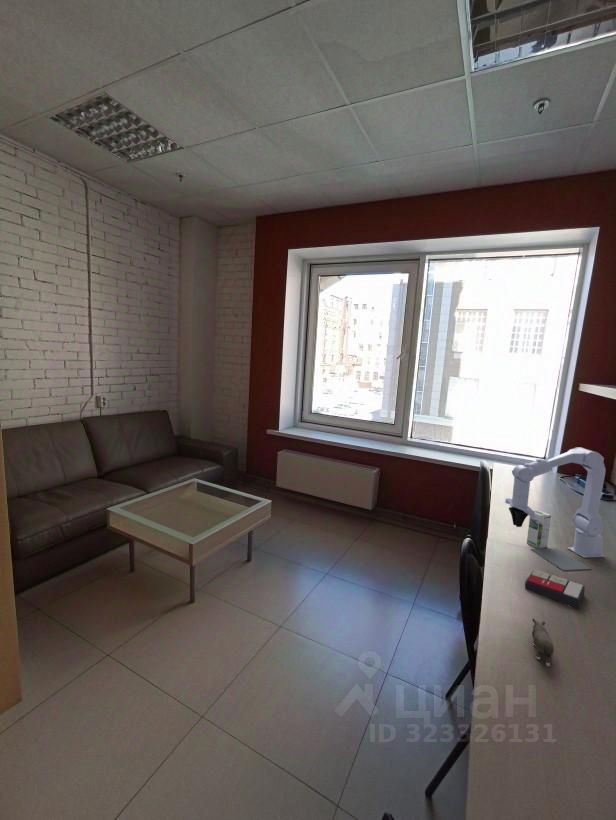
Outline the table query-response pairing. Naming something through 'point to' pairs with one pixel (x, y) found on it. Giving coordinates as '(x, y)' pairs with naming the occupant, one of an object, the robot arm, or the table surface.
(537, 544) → the syrup box
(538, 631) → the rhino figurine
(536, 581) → the red and white box
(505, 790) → the table surface
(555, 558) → the mat
